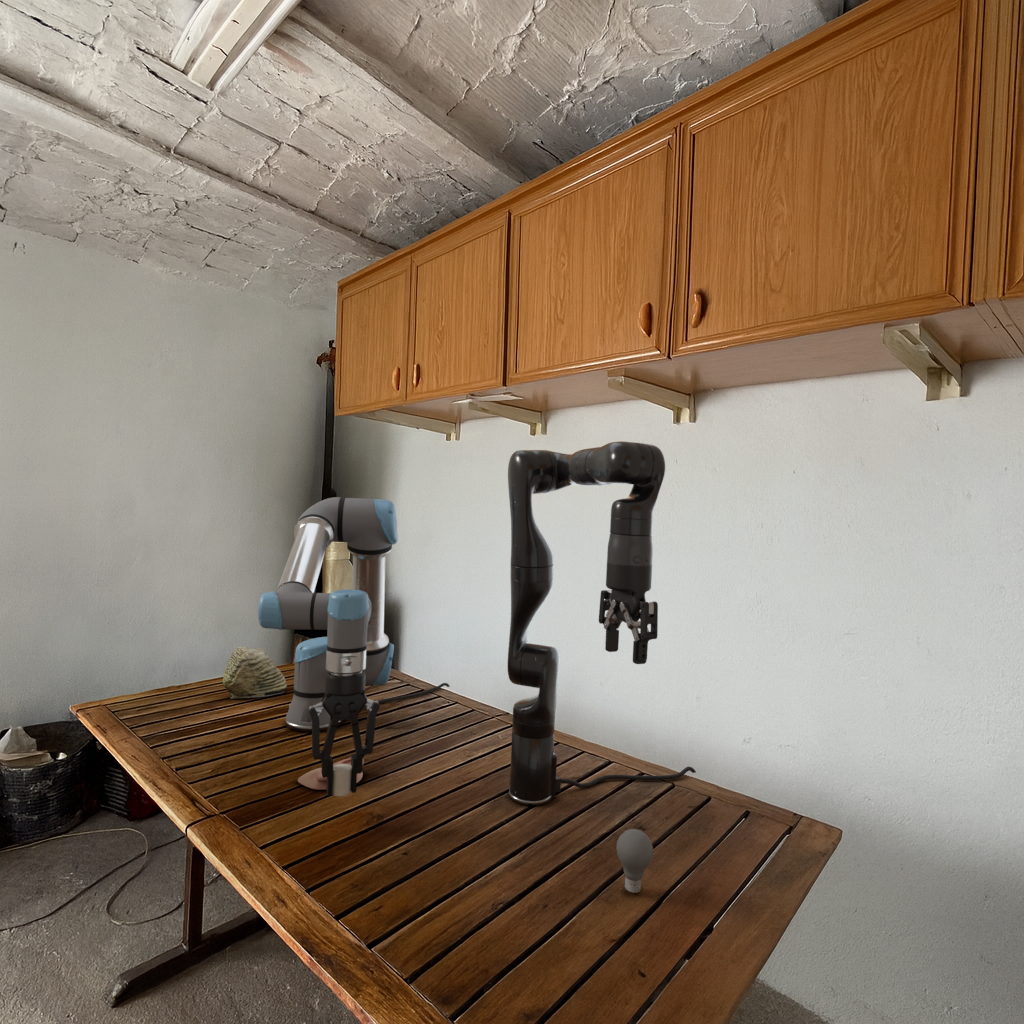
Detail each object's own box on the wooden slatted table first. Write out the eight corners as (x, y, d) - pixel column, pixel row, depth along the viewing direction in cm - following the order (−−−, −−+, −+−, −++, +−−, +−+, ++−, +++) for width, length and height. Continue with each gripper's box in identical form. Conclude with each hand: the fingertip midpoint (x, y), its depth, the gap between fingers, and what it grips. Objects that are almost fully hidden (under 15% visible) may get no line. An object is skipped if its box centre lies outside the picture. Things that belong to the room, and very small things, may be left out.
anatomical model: (290, 768, 137) (317, 748, 149) (290, 786, 138) (316, 764, 149) (347, 776, 135) (370, 755, 146) (346, 794, 135) (369, 772, 146)
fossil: (218, 695, 195) (220, 647, 195) (278, 685, 208) (279, 640, 207) (228, 703, 189) (230, 653, 188) (289, 692, 201) (290, 645, 201)
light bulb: (610, 879, 108) (613, 822, 108) (644, 879, 109) (647, 822, 109) (619, 902, 102) (622, 840, 102) (655, 901, 103) (658, 840, 103)
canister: (354, 793, 122) (355, 769, 122) (335, 798, 120) (336, 773, 120) (346, 785, 125) (347, 762, 125) (327, 790, 123) (329, 766, 123)
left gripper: (301, 679, 116) (296, 806, 116) (393, 673, 122) (388, 794, 122) (298, 668, 122) (294, 788, 123) (385, 663, 129) (381, 777, 129)
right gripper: (674, 566, 101) (669, 666, 102) (625, 557, 114) (621, 646, 115) (634, 566, 98) (629, 669, 99) (588, 556, 112) (584, 648, 112)
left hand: (341, 790), depth 123 cm, fingers closed on canister, 4 cm apart
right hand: (624, 657), depth 107 cm, fingers open, 8 cm apart
